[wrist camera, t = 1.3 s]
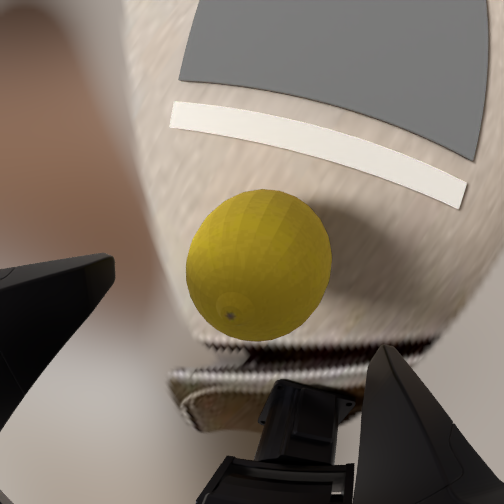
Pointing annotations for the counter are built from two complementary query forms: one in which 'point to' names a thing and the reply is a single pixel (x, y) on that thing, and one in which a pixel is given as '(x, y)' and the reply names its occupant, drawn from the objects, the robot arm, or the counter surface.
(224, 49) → the mat
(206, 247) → the lemon
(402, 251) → the counter surface
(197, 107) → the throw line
